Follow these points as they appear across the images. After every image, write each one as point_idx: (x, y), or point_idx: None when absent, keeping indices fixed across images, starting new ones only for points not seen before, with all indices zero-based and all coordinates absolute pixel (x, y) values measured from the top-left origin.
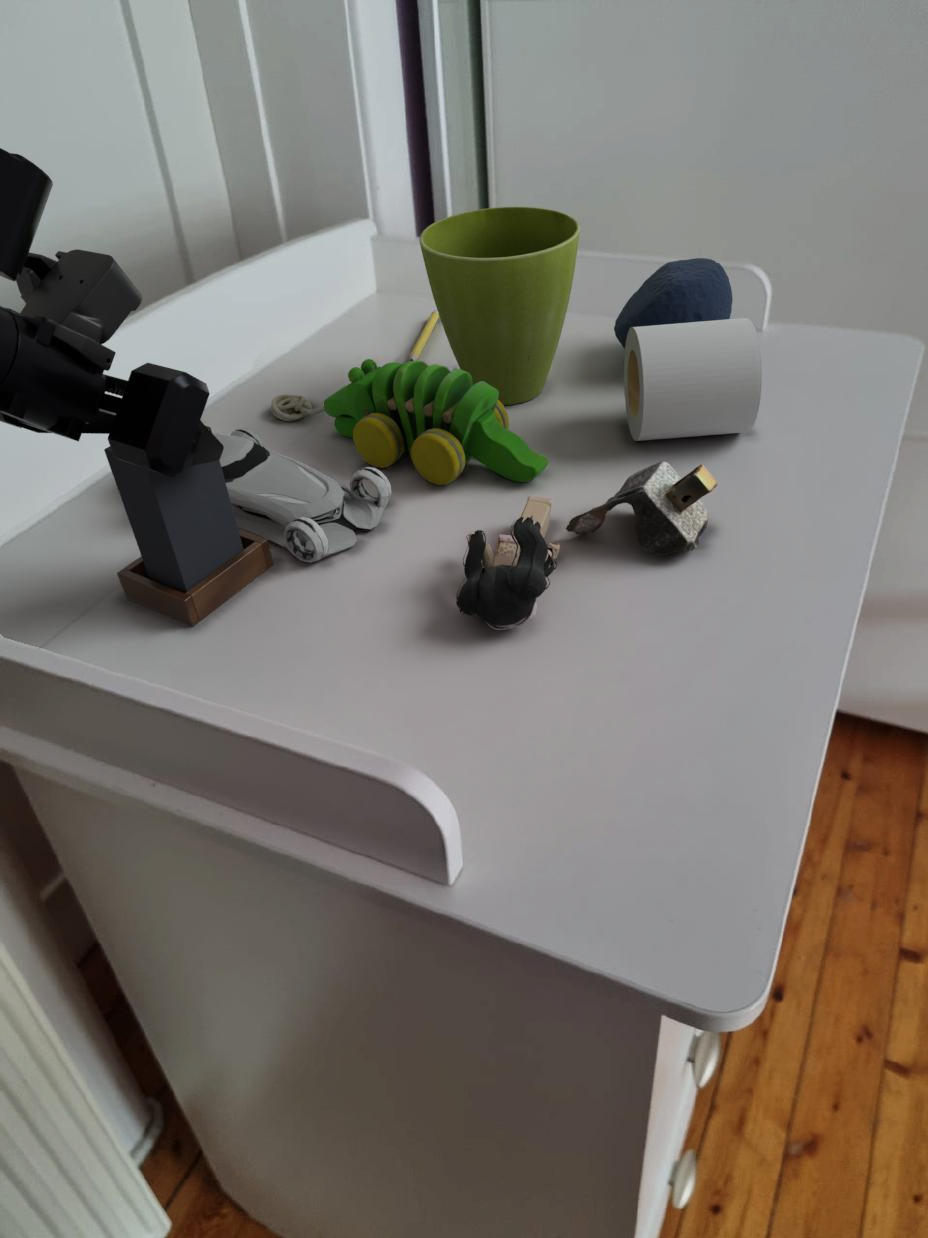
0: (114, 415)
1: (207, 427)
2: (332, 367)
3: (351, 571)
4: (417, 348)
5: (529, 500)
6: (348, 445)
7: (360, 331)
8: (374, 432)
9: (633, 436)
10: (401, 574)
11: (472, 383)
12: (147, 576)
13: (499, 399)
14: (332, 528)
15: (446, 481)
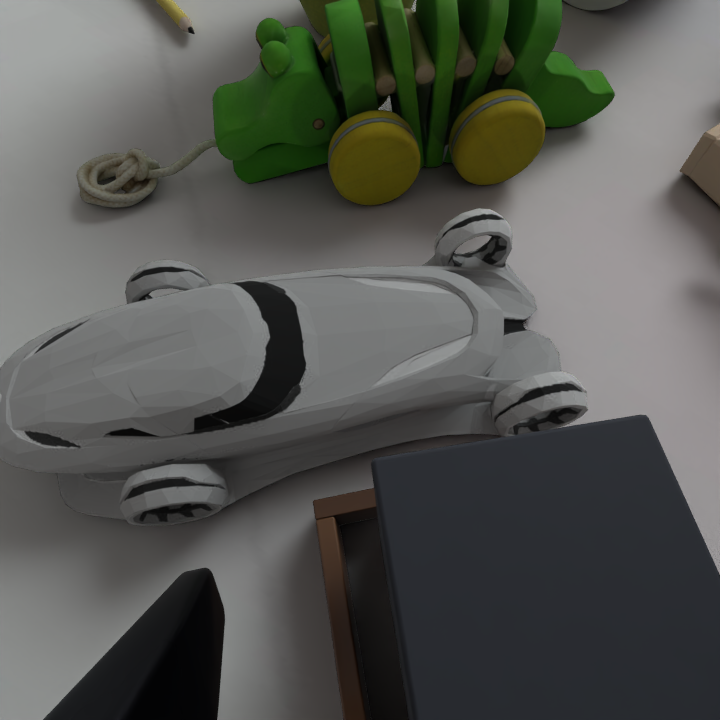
0: (179, 694)
1: (641, 425)
2: (80, 90)
3: (614, 399)
4: (178, 9)
5: (716, 138)
6: (283, 193)
7: (46, 23)
8: (388, 149)
9: (591, 6)
10: (678, 353)
11: None
12: (369, 716)
13: None
14: (505, 348)
15: (519, 172)
